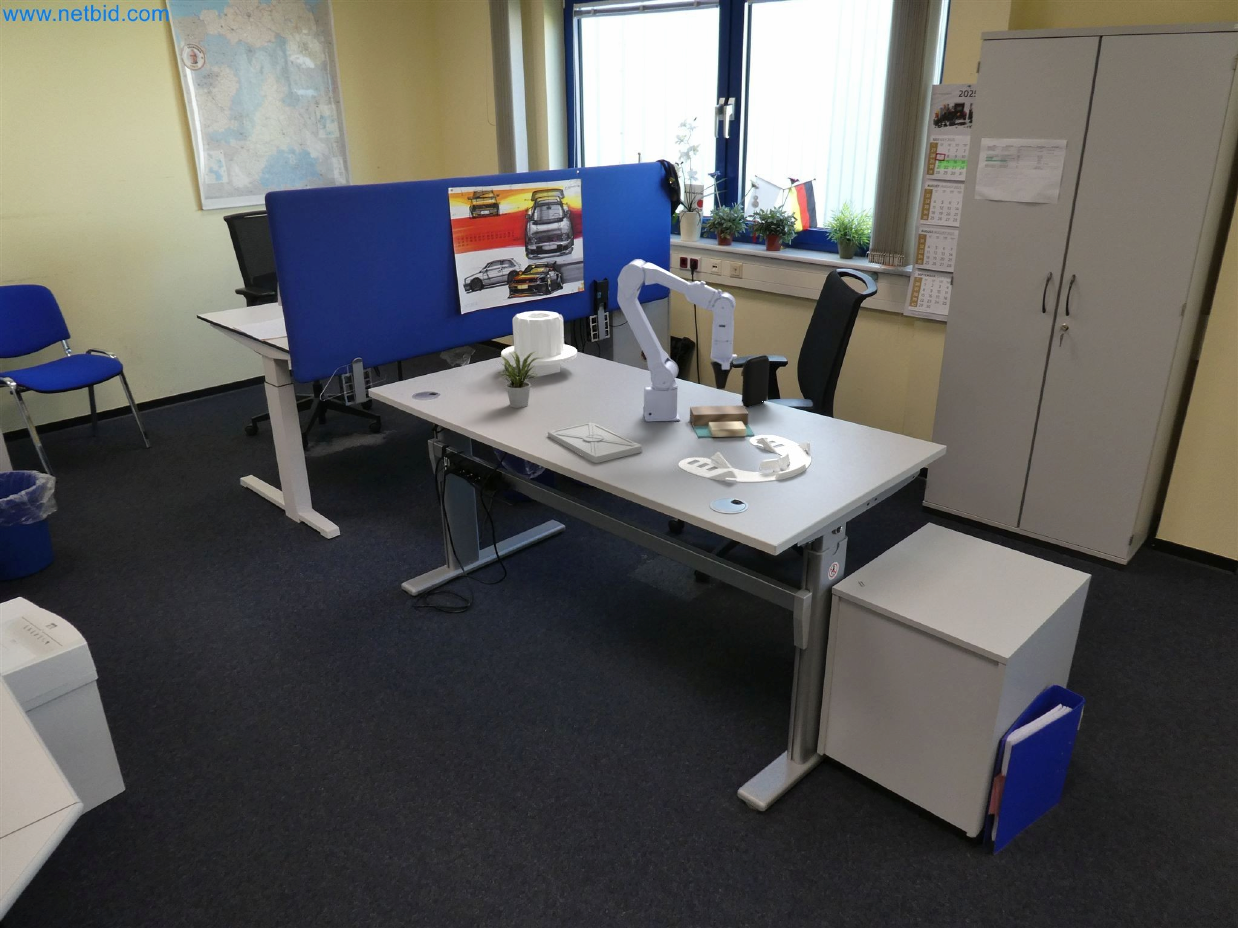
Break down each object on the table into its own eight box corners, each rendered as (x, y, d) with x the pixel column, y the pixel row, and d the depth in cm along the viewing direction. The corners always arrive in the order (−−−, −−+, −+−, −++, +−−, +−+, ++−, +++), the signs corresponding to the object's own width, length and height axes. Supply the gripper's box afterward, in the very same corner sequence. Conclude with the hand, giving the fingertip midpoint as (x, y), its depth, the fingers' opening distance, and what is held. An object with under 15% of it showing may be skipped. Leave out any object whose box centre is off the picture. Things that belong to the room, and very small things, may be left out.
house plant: (551, 398, 259) (549, 345, 253) (543, 412, 246) (541, 357, 240) (505, 397, 260) (502, 344, 254) (494, 411, 248) (491, 356, 242)
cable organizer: (766, 434, 229) (767, 422, 228) (840, 459, 212) (841, 446, 210) (670, 466, 208) (670, 453, 207) (743, 496, 191) (744, 482, 190)
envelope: (591, 428, 235) (548, 438, 228) (591, 421, 234) (547, 430, 227) (641, 452, 216) (595, 464, 209) (641, 444, 215) (595, 455, 208)
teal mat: (698, 437, 226) (698, 436, 226) (693, 427, 233) (693, 426, 233) (754, 435, 227) (754, 434, 226) (748, 426, 234) (748, 424, 234)
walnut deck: (693, 426, 234) (693, 414, 232) (689, 418, 240) (690, 406, 239) (747, 425, 235) (748, 413, 233) (742, 417, 241) (743, 405, 240)
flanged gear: (549, 358, 303) (547, 304, 296) (592, 372, 285) (591, 316, 278) (488, 370, 288) (484, 314, 282) (530, 386, 271) (527, 327, 264)
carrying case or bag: (744, 410, 246) (746, 361, 241) (736, 408, 249) (738, 358, 243) (769, 403, 252) (772, 354, 247) (761, 401, 255) (764, 352, 249)
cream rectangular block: (708, 422, 230) (708, 429, 231) (712, 429, 224) (712, 436, 225) (741, 421, 230) (741, 428, 231) (746, 428, 225) (746, 435, 225)
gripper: (742, 345, 223) (739, 395, 228) (732, 333, 237) (730, 380, 242) (715, 346, 223) (713, 396, 228) (707, 333, 237) (705, 380, 242)
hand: (720, 388), depth 235 cm, fingers closed
